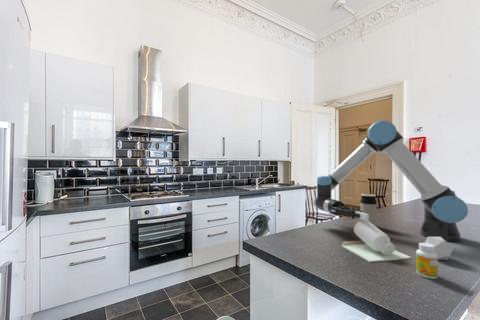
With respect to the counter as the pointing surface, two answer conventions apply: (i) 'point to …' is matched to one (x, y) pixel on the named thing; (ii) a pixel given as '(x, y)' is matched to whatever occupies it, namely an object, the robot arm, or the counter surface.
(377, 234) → the pill bottle
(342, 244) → the stop strip
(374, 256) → the mat
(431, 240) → the die
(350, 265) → the counter surface
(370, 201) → the travel mug
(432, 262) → the supplement bottle
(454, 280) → the counter surface
